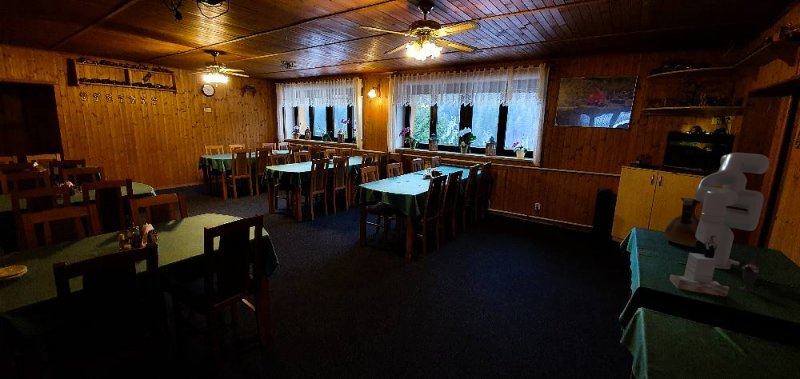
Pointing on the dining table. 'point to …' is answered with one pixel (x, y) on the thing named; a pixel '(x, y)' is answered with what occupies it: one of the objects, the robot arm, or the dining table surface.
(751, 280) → the sundae
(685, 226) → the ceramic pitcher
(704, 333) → the dining table surface
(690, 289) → the display board
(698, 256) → the supplement box
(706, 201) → the robot arm
